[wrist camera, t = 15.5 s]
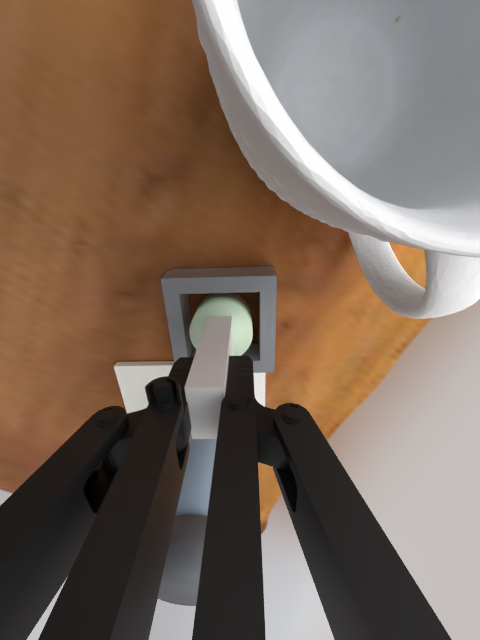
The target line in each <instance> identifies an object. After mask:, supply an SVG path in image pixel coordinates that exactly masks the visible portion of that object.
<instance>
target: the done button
mask: <svg viewBox="0 0 480 640" xmlns="http://www.w3.org/2000/svg"><path fill="white" fill-rule="evenodd" d="M222 316H232V329H233V349H234V356H241V355H242V354H243V353H245V351H246V350H247V349H248V348H249V346H250V344H251V342H252V338H253V328H252V313H251V309H250V307H249V305H248V303H247V302H246V301H245V300H244V299H243V298H242V297H241V296H239V295H238V294H236V293H211V294H209V295H207V296H206V297H205V298H204V299H203V300H202V301H201V302H200V304H199V306H198V308H197V310H196V313H195V315H194V317H193V319H192V322H191V324H190V330H189V334H190V339H191V342H192V344H193V346H194V347H195V348H196V350H197V347H198V344H199V341H200V338H201V335H202V332H203V329H204V326H205V322H206V319H207V317H222Z"/></svg>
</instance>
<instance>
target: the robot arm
mask: <svg viewBox="0 0 480 640" xmlns="http://www.w3.org/2000/svg"><path fill="white" fill-rule="evenodd" d="M145 391H146V395H147V399H148V407H147V408H145V409H142V410H139V411H135V412H131V413H126V411H125V409H124V408H122V407H120V406H110V407H106V408H104V409H102V410H99V411H98V412H96V413H95V414H94V415H93V416H91V417H90V418H89V419H88V420H87V421H86V422H85V423H84V424H83V425H82V426H81V427H80V428H79V429H78V430H77V431H76V432H75V433H74V434H73V435H72V436H71V437H70V438H69V439H68V440H67V441H66V442H65V443H64V444H63V445H62V446H61V447H60V448H59V449H58V450H57V451H56V452H55V453H54V454H53V455H52V456H51V457H50V458H49V459H48V460H47V461H46V462H45V463H44V464H43V465H42V466H41V467H40V468H39V469H38V470H37V471H35V472H34V473H33V474H32V475H31V476H30V477H29V478H28V479H27V480H26V481H25V482H24V483H23V484H22V485H21V486H20V487H19V488H18V489H17V490H16V491H15V492H14V493H13V494H12V495H11V496H10V497H9V498H8V499H7V500H6V501H5V502H4V503H3V504H2V505H1V506H0V640H26V639H27V638H28V636H29V635H30V633H31V632H32V630H33V628H34V627H35V625H36V624H37V622H38V621H39V619H40V618H41V616H42V614H43V613H44V612H45V610H46V609H47V607H48V605H49V604H50V602H51V601H52V599H53V598H54V596H55V595H56V593H57V592H58V590H59V589H60V587H61V586H62V584H63V583H64V581H65V579H66V578H67V580H66V582H65V584H64V586H63V588H62V590H61V592H60V594H59V597H58V599H57V601H56V603H55V605H54V607H53V609H52V612H51V614H50V616H49V618H48V620H47V622H46V624H45V626H44V629H43V631H42V633H41V635H40V637H39V639H38V640H148V639H149V635H150V630H151V625H152V621H153V616H154V611H155V607H156V602H157V598H158V593H159V589H160V584H161V580H162V575H163V570H164V566H165V561H166V557H167V552H168V548H169V543H170V538H171V534H172V529H173V525H174V520H175V516H176V511H177V506H178V502H179V497H180V493H181V488H182V484H183V479H184V474H185V470H186V465H187V461H188V456H189V452H190V445H189V437H190V432H191V435H192V439H217V441H216V449H215V457H214V465H213V474H212V482H211V490H210V498H209V506H208V514H207V522H206V530H205V539H204V547H203V555H202V563H201V571H200V579H199V587H198V595H197V603H196V612H195V620H194V629H193V636H192V640H265V619H264V596H263V573H262V551H261V550H262V549H261V526H260V503H259V479H258V462H260V463H263V464H267V465H270V466H273V470H274V473H275V475H276V478H277V481H278V484H279V486H280V489H281V492H282V495H283V497H284V500H285V503H286V506H287V509H288V511H289V514H290V517H291V519H292V522H293V525H294V528H295V531H296V534H297V536H298V539H299V542H300V544H301V547H302V550H303V553H304V556H305V559H306V561H307V564H308V567H309V570H310V572H311V575H312V578H313V581H314V583H315V586H316V589H317V592H318V595H319V597H320V600H321V603H322V606H323V608H324V611H325V614H326V617H327V620H328V622H329V625H330V628H331V631H332V633H333V636H334V639H335V640H451V638H450V637H449V635H448V633H447V632H446V630H445V629H444V627H443V625H442V624H441V622H440V621H439V619H438V618H437V616H436V614H435V613H434V611H433V609H432V608H431V606H430V605H429V603H428V602H427V600H426V598H425V597H424V595H423V594H422V592H421V590H420V589H419V587H418V585H417V584H416V582H415V581H414V579H413V577H412V576H411V574H410V573H409V571H408V570H407V568H406V566H405V565H404V563H403V562H402V560H401V558H400V557H399V555H398V554H397V552H396V550H395V549H394V547H393V546H392V544H391V542H390V541H389V539H388V538H387V536H386V534H385V533H384V531H383V530H382V528H381V526H380V525H379V523H378V522H377V520H376V518H375V517H374V515H373V514H372V512H371V511H370V509H369V508H368V506H367V504H366V503H365V501H364V499H363V498H362V496H361V495H360V493H359V492H358V490H357V488H356V487H355V485H354V483H353V482H352V480H351V479H350V477H349V476H348V474H347V472H346V471H345V469H344V467H343V466H342V464H341V463H340V461H339V460H338V458H337V456H336V455H335V453H334V451H333V450H332V449H331V447H330V445H329V443H328V442H327V440H326V439H325V437H324V435H323V434H322V432H321V431H320V429H319V428H318V426H317V424H316V423H315V421H314V420H313V418H312V416H311V415H310V413H309V412H308V411H307V410H306V409H305V408H304V407H302V406H300V405H298V404H294V403H285V404H282V405H280V406H279V407H277V408H276V409H275V410H274V409H270V408H267V407H264V406H263V405H261V404H260V403H259V402H257V400H256V398H255V395H254V374H253V361H252V359H251V358H250V357H249V356H234V349H233V329H232V316H222V317H207V319H206V322H205V326H204V329H203V332H202V335H201V338H200V341H199V344H198V347H197V350H196V353H195V356H194V357H180V358H179V359H178V360H177V361H176V362H175V363H174V364H173V366H172V368H171V371H170V373H169V376H165V377H159V378H156V379H154V380H152V381H151V382H149V383H148V384H147V385H146V386H145ZM67 576H68V577H67Z"/></svg>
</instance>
